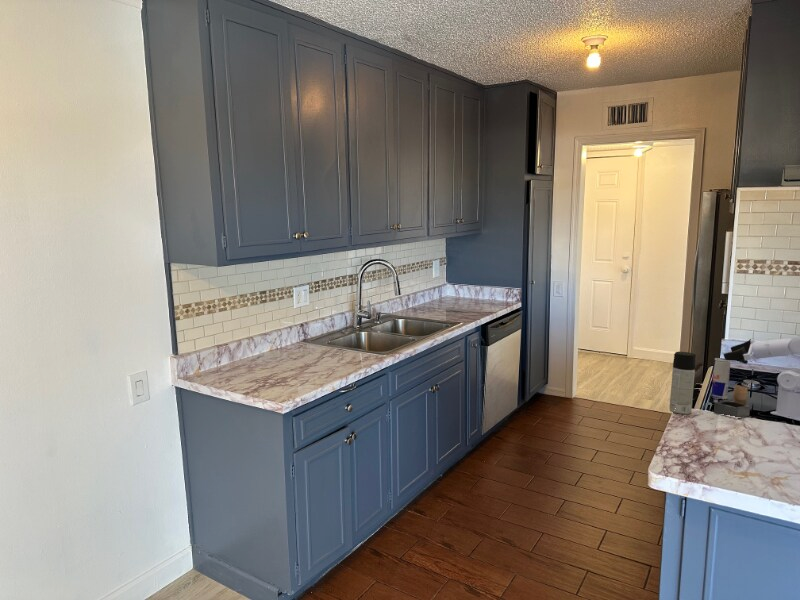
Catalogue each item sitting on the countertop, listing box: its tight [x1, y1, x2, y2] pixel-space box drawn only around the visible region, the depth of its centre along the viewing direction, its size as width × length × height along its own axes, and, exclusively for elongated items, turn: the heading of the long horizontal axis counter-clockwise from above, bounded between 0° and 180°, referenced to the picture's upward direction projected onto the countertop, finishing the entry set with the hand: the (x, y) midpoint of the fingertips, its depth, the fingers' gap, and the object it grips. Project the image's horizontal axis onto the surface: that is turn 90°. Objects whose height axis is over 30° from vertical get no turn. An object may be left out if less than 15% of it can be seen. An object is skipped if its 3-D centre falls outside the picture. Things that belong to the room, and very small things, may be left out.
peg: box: [732, 384, 749, 405], centre depth 192 cm, size 4×4×8 cm
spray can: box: [669, 351, 697, 415], centre depth 187 cm, size 7×7×20 cm
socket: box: [713, 399, 751, 418], centre depth 186 cm, size 8×8×4 cm
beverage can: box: [711, 357, 731, 400], centre depth 206 cm, size 5×5×15 cm
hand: (728, 353), depth 201 cm, fingers open, 7 cm apart
